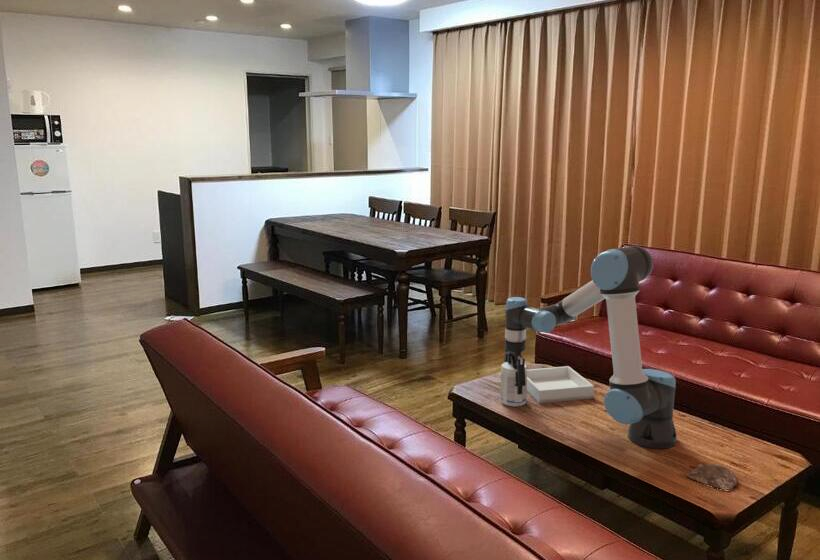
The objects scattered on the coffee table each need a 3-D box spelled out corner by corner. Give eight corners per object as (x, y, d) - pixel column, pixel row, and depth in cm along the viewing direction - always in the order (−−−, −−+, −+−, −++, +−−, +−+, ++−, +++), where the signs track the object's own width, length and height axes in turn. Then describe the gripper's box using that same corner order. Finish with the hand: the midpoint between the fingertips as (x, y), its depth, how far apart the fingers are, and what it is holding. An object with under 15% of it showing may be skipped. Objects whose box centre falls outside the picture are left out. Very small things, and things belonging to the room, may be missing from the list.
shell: (700, 465, 200) (701, 454, 199) (744, 480, 191) (745, 469, 190) (683, 478, 192) (684, 467, 191) (728, 495, 183) (729, 483, 182)
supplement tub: (531, 402, 246) (532, 365, 242) (515, 409, 239) (517, 371, 236) (510, 395, 253) (511, 359, 249) (495, 402, 246) (496, 365, 243)
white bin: (593, 398, 249) (594, 385, 248) (539, 403, 245) (539, 390, 244) (568, 377, 270) (568, 366, 269) (517, 381, 266) (518, 370, 265)
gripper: (536, 348, 231) (534, 407, 235) (514, 329, 252) (512, 384, 257) (516, 349, 229) (514, 409, 234) (495, 331, 250) (494, 386, 255)
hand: (513, 396), depth 245 cm, fingers closed on supplement tub, 10 cm apart
